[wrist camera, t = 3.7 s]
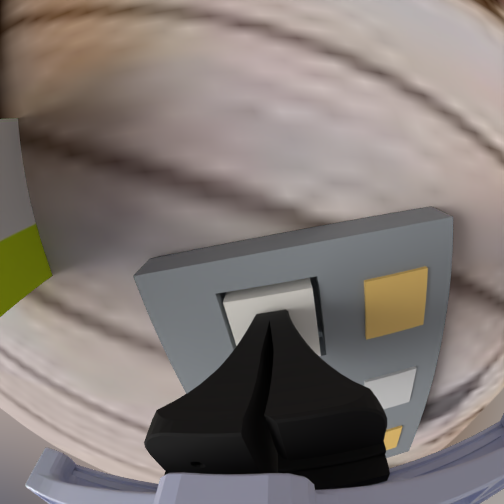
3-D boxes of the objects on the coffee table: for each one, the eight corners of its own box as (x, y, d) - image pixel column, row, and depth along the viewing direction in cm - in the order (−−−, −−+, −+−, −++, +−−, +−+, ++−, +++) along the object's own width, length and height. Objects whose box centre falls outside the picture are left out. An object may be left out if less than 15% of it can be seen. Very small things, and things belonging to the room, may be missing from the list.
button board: (402, 433, 18) (409, 452, 16) (240, 460, 20) (238, 481, 18) (431, 206, 12) (455, 217, 10) (149, 258, 14) (131, 278, 12)
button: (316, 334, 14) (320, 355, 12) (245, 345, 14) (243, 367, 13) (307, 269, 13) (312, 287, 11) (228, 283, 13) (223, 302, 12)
